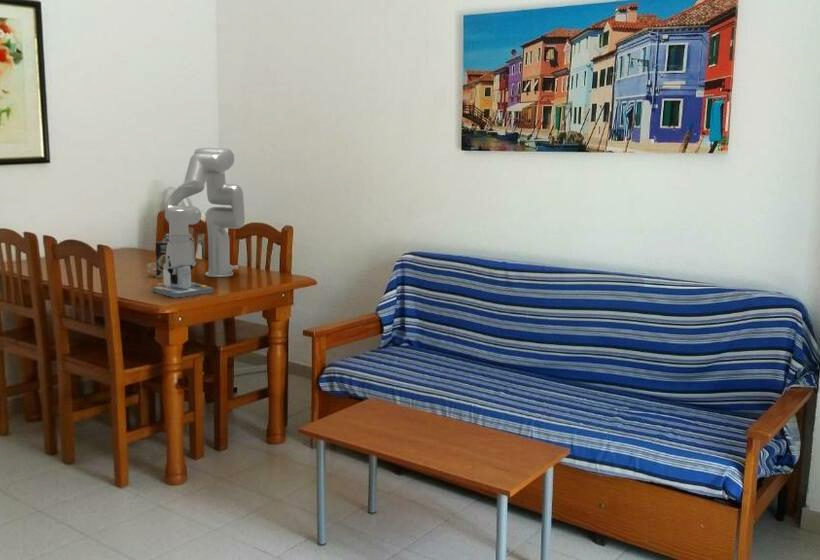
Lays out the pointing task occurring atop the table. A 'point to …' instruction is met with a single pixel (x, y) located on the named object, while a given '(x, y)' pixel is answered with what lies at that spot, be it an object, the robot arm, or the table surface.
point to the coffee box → (160, 257)
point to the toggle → (166, 277)
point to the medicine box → (182, 277)
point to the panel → (182, 290)
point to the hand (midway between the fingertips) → (180, 282)
